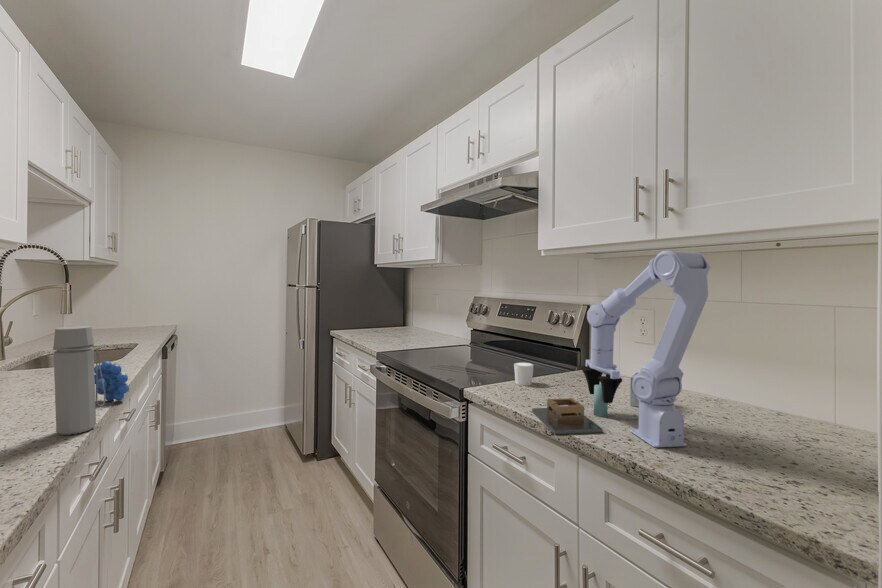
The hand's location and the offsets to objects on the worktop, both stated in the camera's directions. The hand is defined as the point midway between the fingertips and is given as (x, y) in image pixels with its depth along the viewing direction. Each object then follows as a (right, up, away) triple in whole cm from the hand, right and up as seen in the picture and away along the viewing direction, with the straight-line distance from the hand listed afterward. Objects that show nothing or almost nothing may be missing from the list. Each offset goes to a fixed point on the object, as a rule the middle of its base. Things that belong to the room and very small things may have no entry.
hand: (600, 398), depth 108 cm
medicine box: (+16, -5, +10) cm, 19 cm away
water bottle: (-131, -5, -12) cm, 132 cm away
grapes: (-143, -4, +8) cm, 143 cm away
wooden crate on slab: (-11, -5, -5) cm, 13 cm away
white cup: (-15, -3, +32) cm, 35 cm away
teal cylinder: (0, -5, 0) cm, 5 cm away
